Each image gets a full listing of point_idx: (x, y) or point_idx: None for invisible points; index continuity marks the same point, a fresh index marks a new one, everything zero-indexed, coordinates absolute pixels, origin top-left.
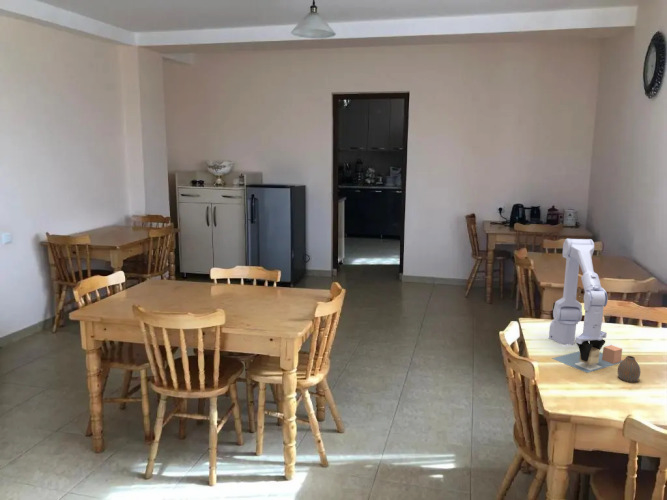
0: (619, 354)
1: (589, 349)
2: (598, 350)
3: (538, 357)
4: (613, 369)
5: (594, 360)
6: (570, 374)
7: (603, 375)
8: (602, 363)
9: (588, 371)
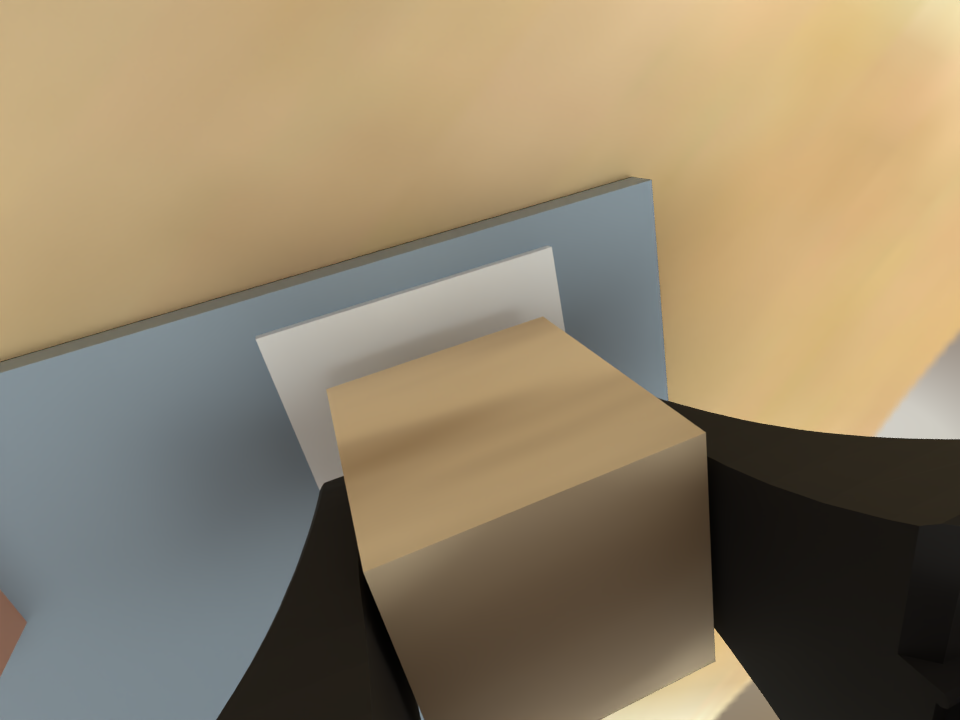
0: None
1: (827, 459)
2: (420, 535)
3: (718, 662)
4: (8, 285)
5: (462, 376)
6: (788, 244)
7: (403, 87)
8: (131, 478)
9: (600, 217)
